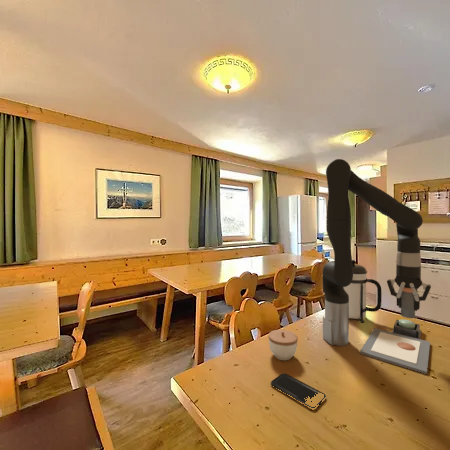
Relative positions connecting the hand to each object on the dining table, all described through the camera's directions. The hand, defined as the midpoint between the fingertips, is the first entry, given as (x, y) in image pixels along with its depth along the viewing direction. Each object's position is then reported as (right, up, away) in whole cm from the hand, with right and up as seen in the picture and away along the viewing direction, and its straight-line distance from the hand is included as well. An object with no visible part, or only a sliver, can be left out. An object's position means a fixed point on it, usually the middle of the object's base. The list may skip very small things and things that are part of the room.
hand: (407, 308), depth 96 cm
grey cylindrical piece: (0, -3, 0) cm, 3 cm away
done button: (+13, -14, +18) cm, 26 cm away
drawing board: (-2, -17, +4) cm, 18 cm away
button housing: (+13, -17, +18) cm, 28 cm away
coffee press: (-2, -16, +35) cm, 38 cm away
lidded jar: (-47, -18, 0) cm, 51 cm away
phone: (-48, -19, -20) cm, 55 cm away
